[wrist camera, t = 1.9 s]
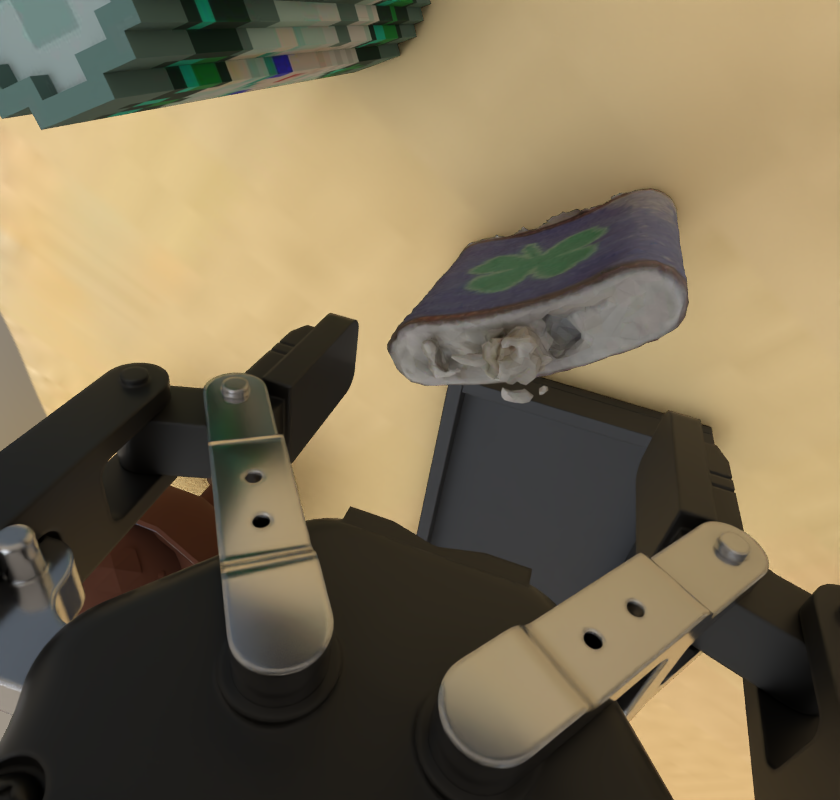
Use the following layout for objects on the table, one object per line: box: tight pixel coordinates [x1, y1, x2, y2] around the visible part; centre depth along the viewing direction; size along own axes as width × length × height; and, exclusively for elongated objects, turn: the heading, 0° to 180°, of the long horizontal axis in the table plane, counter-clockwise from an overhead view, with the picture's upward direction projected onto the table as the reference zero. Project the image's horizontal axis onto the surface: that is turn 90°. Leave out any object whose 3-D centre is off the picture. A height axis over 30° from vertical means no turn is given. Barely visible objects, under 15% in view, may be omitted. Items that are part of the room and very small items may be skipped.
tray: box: [417, 377, 714, 605], centre depth 34 cm, size 12×26×2 cm, turn 171°
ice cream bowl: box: [77, 478, 219, 616], centre depth 32 cm, size 11×11×15 cm
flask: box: [387, 188, 689, 403], centre depth 20 cm, size 9×3×11 cm, turn 113°
